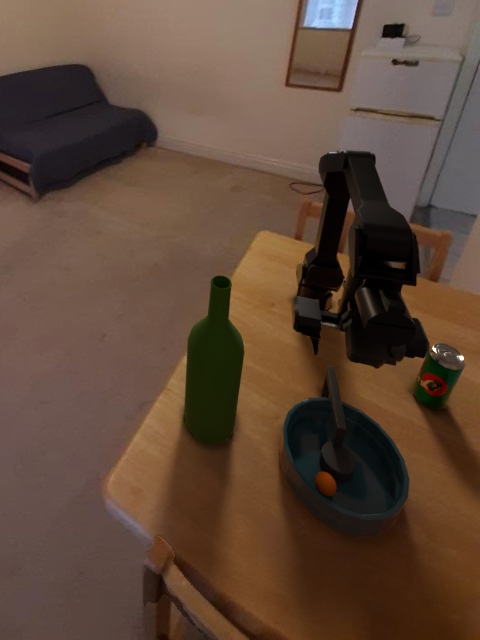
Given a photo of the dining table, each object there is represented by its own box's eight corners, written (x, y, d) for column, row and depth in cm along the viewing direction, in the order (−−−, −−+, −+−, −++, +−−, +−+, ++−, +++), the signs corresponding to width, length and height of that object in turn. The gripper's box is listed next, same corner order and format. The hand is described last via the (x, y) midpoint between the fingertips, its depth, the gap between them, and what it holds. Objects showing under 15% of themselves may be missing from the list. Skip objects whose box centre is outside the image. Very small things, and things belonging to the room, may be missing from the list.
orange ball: (312, 479, 64) (308, 483, 62) (324, 464, 64) (320, 468, 61) (330, 498, 62) (326, 504, 60) (342, 483, 62) (338, 489, 59)
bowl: (257, 459, 67) (261, 440, 64) (314, 398, 76) (320, 378, 73) (364, 572, 54) (374, 552, 52) (418, 482, 63) (429, 462, 61)
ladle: (355, 487, 62) (365, 459, 59) (321, 477, 63) (329, 449, 61) (338, 395, 76) (345, 369, 73) (310, 389, 77) (316, 362, 74)
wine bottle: (236, 403, 75) (254, 267, 61) (232, 453, 68) (251, 311, 54) (188, 389, 78) (195, 256, 64) (179, 436, 71) (185, 296, 56)
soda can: (450, 413, 72) (473, 368, 67) (418, 408, 73) (439, 363, 68) (436, 387, 77) (457, 343, 71) (406, 382, 78) (424, 339, 72)
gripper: (303, 318, 58) (288, 388, 65) (459, 349, 52) (424, 422, 59) (298, 266, 67) (285, 332, 74) (430, 288, 62) (402, 357, 68)
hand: (344, 359), depth 69 cm, fingers open, 9 cm apart
